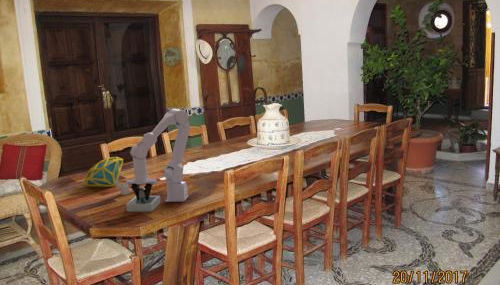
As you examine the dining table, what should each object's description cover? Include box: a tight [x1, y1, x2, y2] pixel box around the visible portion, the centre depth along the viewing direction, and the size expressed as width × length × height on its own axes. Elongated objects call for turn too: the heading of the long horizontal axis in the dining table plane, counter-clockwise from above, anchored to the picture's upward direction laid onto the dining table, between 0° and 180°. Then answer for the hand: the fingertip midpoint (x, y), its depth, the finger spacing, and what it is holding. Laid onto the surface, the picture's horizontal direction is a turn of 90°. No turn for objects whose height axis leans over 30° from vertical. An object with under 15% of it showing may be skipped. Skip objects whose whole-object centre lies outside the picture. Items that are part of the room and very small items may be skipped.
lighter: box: [115, 180, 130, 196], centre depth 237 cm, size 7×2×8 cm, turn 141°
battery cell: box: [138, 186, 148, 204], centre depth 216 cm, size 4×4×8 cm
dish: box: [125, 195, 161, 213], centre depth 217 cm, size 12×12×4 cm
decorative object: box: [84, 156, 124, 188], centre depth 253 cm, size 23×23×15 cm
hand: (143, 199), depth 217 cm, fingers closed on battery cell, 4 cm apart
